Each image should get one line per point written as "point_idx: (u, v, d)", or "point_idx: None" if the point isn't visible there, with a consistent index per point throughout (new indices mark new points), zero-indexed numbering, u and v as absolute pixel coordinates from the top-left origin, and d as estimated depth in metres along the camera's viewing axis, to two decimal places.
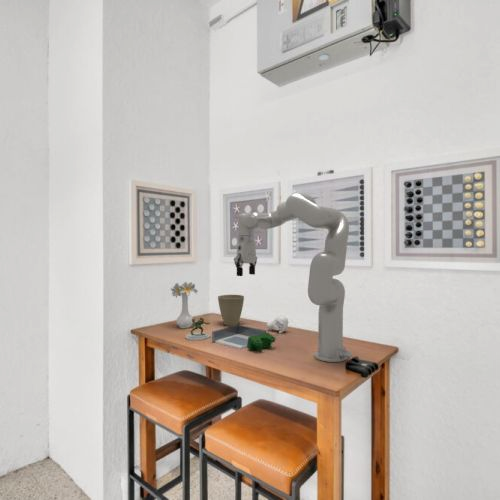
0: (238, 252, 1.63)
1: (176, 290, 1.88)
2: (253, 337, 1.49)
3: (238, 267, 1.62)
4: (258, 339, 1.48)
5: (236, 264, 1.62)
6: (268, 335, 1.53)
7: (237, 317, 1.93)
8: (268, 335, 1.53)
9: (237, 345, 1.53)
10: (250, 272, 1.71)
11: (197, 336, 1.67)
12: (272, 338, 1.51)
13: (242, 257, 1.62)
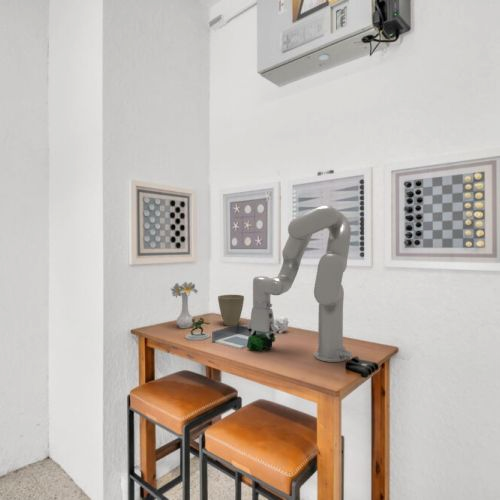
0: (269, 321, 1.47)
1: (176, 290, 1.88)
2: (253, 337, 1.49)
3: (271, 338, 1.47)
4: (258, 339, 1.48)
5: None
6: None
7: (237, 317, 1.93)
8: None
9: (237, 345, 1.53)
10: None
11: (197, 336, 1.67)
12: (272, 338, 1.51)
13: (273, 325, 1.48)
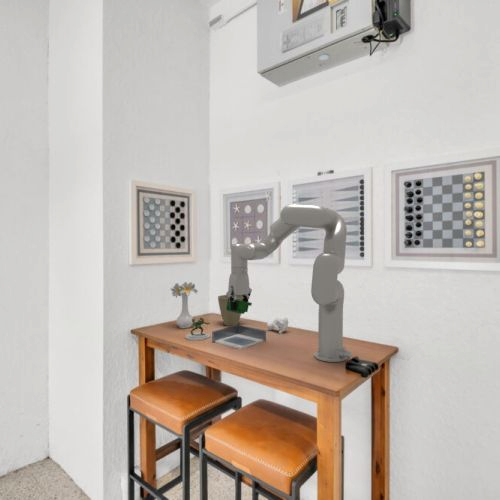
0: None
1: (176, 290, 1.88)
2: (242, 301, 1.56)
3: None
4: None
5: None
6: None
7: (237, 317, 1.93)
8: None
9: (237, 345, 1.53)
10: None
11: (197, 336, 1.67)
12: None
13: None
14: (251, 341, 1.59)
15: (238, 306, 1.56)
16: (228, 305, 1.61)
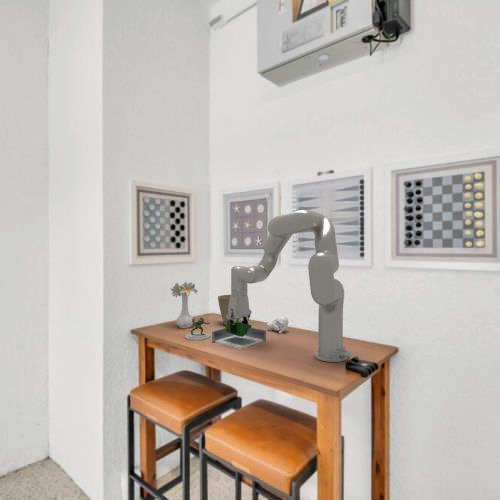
0: None
1: (176, 290, 1.88)
2: (242, 323, 1.57)
3: None
4: None
5: (248, 317, 1.64)
6: None
7: None
8: None
9: (237, 345, 1.53)
10: None
11: (197, 336, 1.67)
12: None
13: None
14: (251, 341, 1.59)
15: (237, 329, 1.56)
16: (228, 327, 1.61)
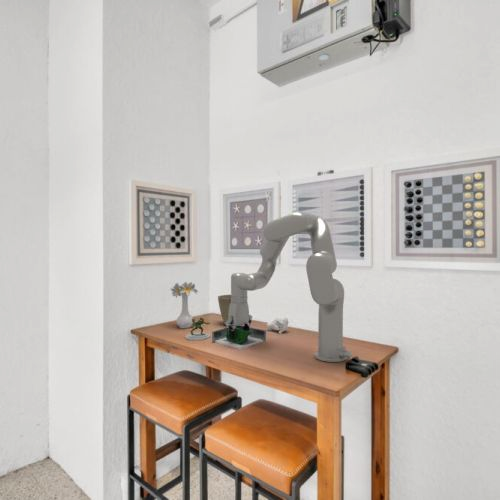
0: None
1: (176, 290, 1.88)
2: (242, 330, 1.57)
3: None
4: (244, 330, 1.59)
5: (249, 322, 1.65)
6: None
7: None
8: None
9: (237, 345, 1.53)
10: None
11: (197, 336, 1.67)
12: (238, 328, 1.65)
13: None
14: (251, 341, 1.59)
15: (238, 335, 1.56)
16: (228, 334, 1.61)
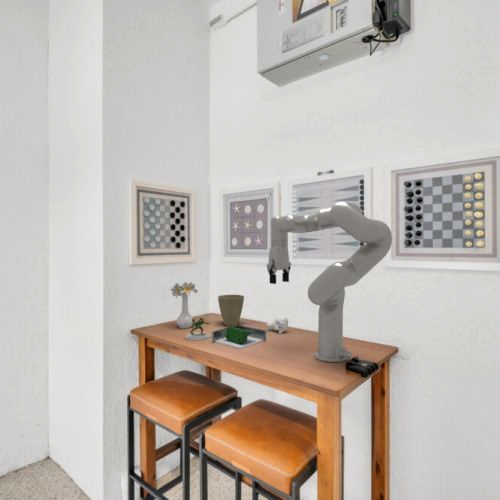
0: None
1: (176, 290, 1.88)
2: (242, 330, 1.57)
3: None
4: (244, 330, 1.59)
5: None
6: (232, 327, 1.63)
7: (237, 317, 1.93)
8: None
9: (237, 345, 1.53)
10: None
11: (197, 336, 1.67)
12: (237, 328, 1.65)
13: None
14: (251, 341, 1.59)
15: (237, 335, 1.56)
16: (227, 334, 1.61)
